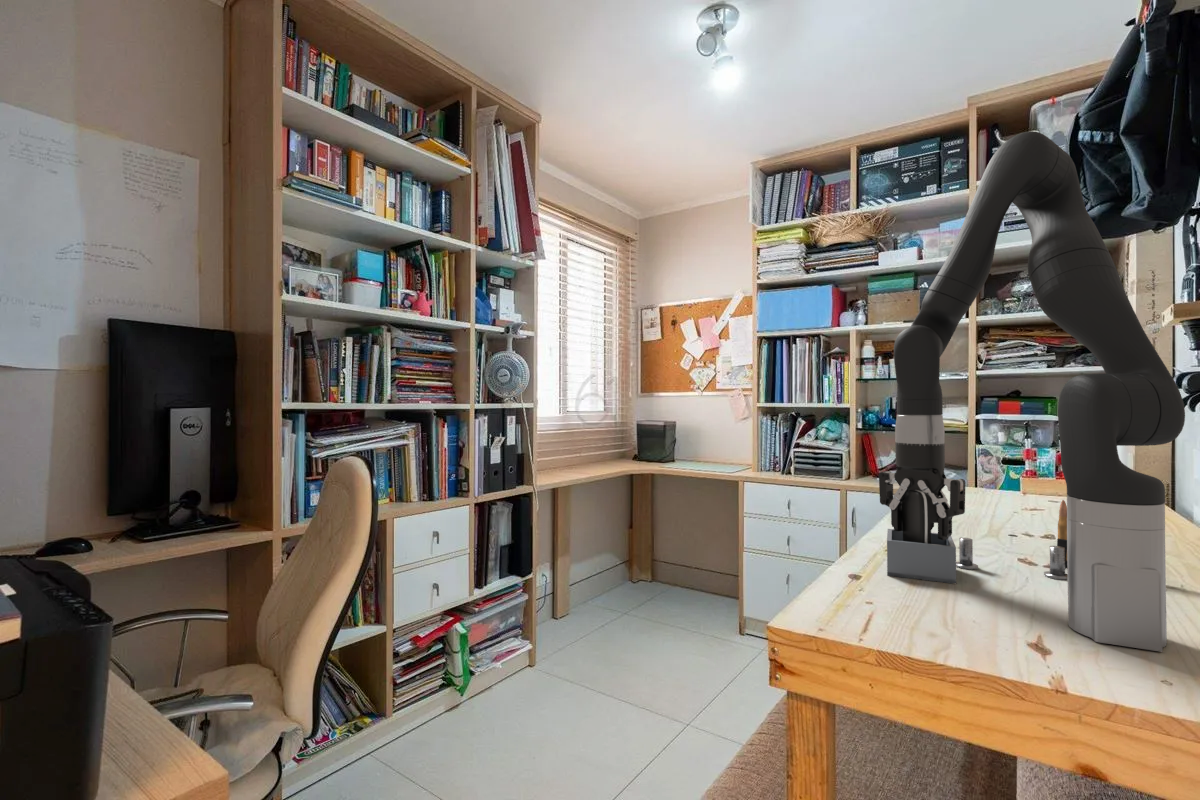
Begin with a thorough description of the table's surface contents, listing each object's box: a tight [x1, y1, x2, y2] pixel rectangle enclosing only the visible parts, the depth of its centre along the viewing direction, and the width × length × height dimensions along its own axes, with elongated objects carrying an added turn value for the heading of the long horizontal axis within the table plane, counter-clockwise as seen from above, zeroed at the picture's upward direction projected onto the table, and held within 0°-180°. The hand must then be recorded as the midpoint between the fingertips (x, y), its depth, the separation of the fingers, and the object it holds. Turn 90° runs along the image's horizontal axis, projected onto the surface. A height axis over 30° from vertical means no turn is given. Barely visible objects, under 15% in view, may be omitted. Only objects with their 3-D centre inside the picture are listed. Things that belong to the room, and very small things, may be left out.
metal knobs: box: [956, 537, 1068, 581], centre depth 97 cm, size 4×17×5 cm, turn 62°
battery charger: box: [902, 490, 940, 544], centre depth 98 cm, size 7×4×11 cm, turn 177°
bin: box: [886, 528, 957, 584], centre depth 98 cm, size 10×10×6 cm
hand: (920, 534), depth 98 cm, fingers closed on battery charger, 7 cm apart
